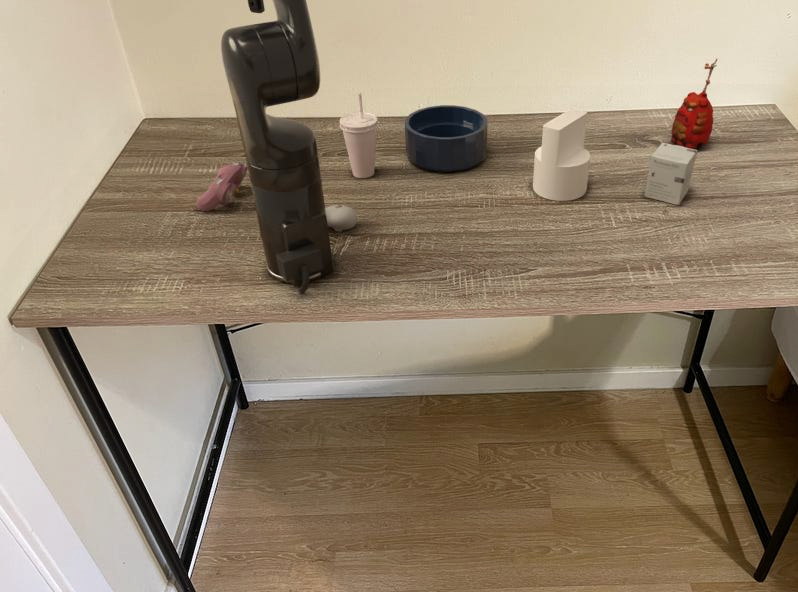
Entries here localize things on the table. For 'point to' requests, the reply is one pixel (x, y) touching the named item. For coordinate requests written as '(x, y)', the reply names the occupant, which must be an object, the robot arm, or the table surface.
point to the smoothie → (360, 140)
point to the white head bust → (341, 217)
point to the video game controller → (222, 187)
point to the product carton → (670, 173)
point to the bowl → (446, 138)
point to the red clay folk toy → (694, 119)
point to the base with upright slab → (562, 158)
